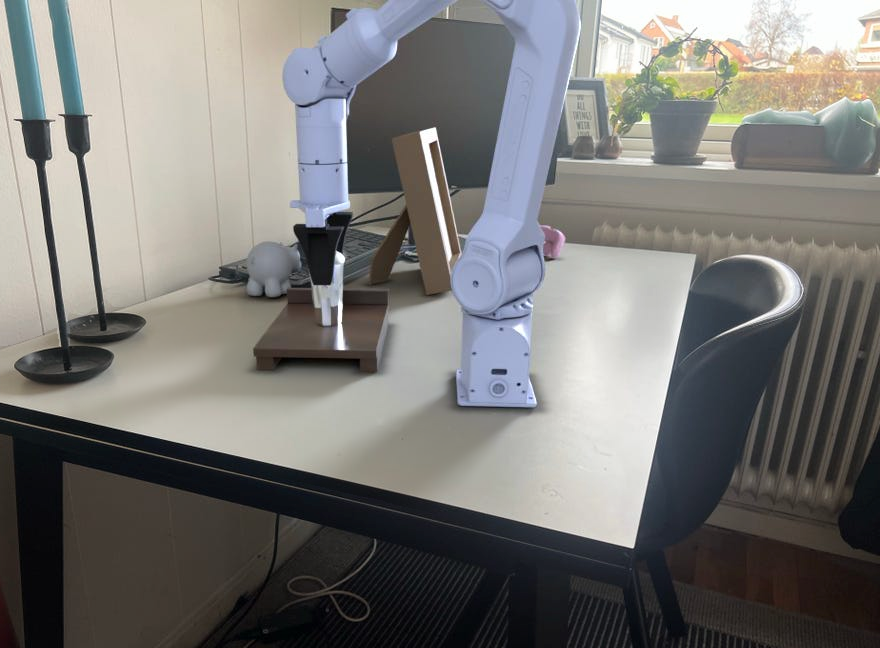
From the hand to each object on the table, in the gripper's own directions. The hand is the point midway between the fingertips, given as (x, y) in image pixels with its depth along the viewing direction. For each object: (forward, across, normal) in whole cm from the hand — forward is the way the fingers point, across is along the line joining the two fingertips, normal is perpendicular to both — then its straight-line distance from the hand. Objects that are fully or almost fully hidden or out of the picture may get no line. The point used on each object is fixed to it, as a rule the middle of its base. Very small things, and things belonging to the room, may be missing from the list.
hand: (327, 277), depth 87 cm
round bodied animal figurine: (+9, -27, -12) cm, 31 cm away
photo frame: (+9, -37, +10) cm, 39 cm away
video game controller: (+9, -59, +34) cm, 69 cm away
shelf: (+9, 0, 0) cm, 9 cm away
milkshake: (+6, 0, 0) cm, 6 cm away
